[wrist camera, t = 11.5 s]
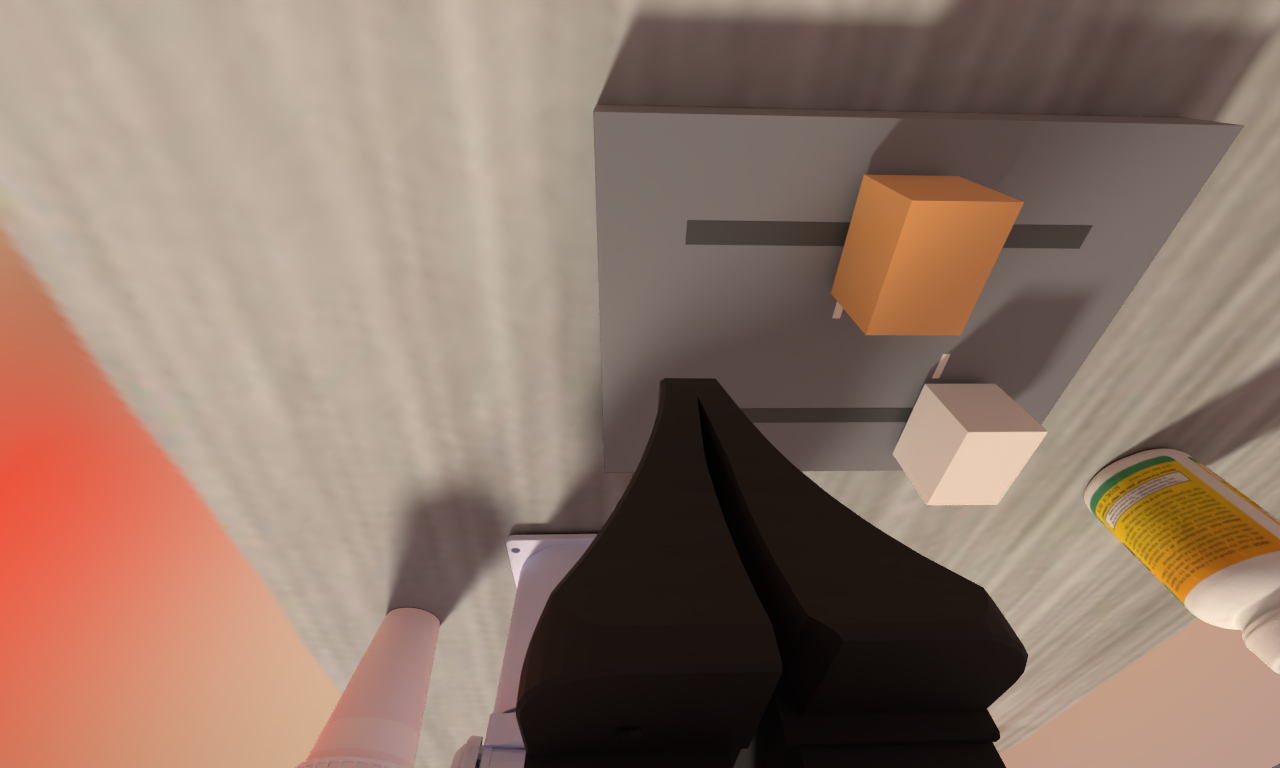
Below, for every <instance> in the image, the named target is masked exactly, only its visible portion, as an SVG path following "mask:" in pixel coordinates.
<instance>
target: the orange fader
mask: <svg viewBox="0 0 1280 768" xmlns="http://www.w3.org/2000/svg"><path fill="white" fill-rule="evenodd" d="M1023 204H1024V202H1023V201H1020V200H1018V199H1015V198H1013V197H1010V196H1007V195H1005V194H1002V193H1000V192H997V191H995V190H992V189H990V188H987V187H985V186H982V185H979V184H977V183H974V182H972V181H969V180H967V179H964V178H962V177H959V176H923V175H864V176H863V180H862V183H861V187H860V190H859V194H858V197H857V201H856V205H855V208H854V212H853V215H852V219H851V223H850V226H849V230H848V233H847V237H846V241H845V244H844V248H843V251H842V255H841V259H840V262H839V266H838V269H837V273H836V276H835V280H834V284H833V287H832V291H831V294H832V296H833V297H834V298H835V299H836V300H837V302H838V303H839V304H840V305H841V306H842V308H843V309H844V310H845V311H846V312H847V314H848V315H849V316H850V317H851V318H852V319H853V321H854V322H855V323H856V324H857V325H858V327H859V328H860V329H861V330H862V331H863V333H864V334H865V335H948V336H960V335H961V333H962V331H963V329H964V327H965V325H966V323H967V321H968V319H969V317H970V314H971V312H972V310H973V308H974V306H975V304H976V302H977V300H978V298H979V296H980V294H981V291H982V289H983V287H984V285H985V283H986V281H987V279H988V277H989V275H990V273H991V271H992V269H993V266H994V264H995V262H996V260H997V258H998V256H999V254H1000V252H1001V250H1002V248H1003V246H1004V243H1005V241H1006V239H1007V237H1008V235H1009V233H1010V231H1011V229H1012V227H1013V225H1014V223H1015V220H1016V218H1017V216H1018V214H1019V212H1020V210H1021V208H1022V206H1023Z"/></svg>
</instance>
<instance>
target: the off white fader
mask: <svg viewBox="0 0 1280 768" xmlns="http://www.w3.org/2000/svg"><path fill="white" fill-rule="evenodd" d="M1047 433H1048V431H1047V430H1046V429H1045V428H1044V427H1042V426H1041V425H1040V424H1039V423H1038V422H1037V421H1036V420H1035V419H1034V418H1033V417H1031V416H1030V415H1029V414H1028V413H1027V412H1026V411H1025V410H1024V409H1023V408H1022V407H1020V406H1019V405H1018V404H1017V403H1016V402H1015V401H1014V400H1013V399H1012V398H1011V397H1009V396H1008V395H1007V394H1006V393H1005V392H1004V391H1003V390H1002V389H1001V388H1000V387H998V386H997V385H996V384H925V385H924V387H923V389H922V391H921V393H920V395H919V398H918V400H917V402H916V404H915V406H914V408H913V411H912V413H911V415H910V417H909V419H908V422H907V424H906V426H905V428H904V430H903V432H902V435H901V437H900V439H899V441H898V443H897V445H896V448H895V450H894V452H893V455H894V457H895V458H896V460H897V461H898V463H899V464H900V466H901V467H902V469H903V470H904V472H905V473H906V475H907V477H908V478H909V480H910V481H911V483H912V484H913V486H914V487H915V489H916V490H917V492H918V493H919V495H920V496H921V498H922V499H923V501H924V502H925V504H926V505H997V504H998V503H999V501H1000V500H1001V499H1002V497H1003V496H1004V494H1005V493H1006V491H1007V490H1008V489H1009V487H1010V486H1011V484H1012V483H1013V481H1014V480H1015V479H1016V477H1017V476H1018V474H1019V473H1020V471H1021V470H1022V468H1023V467H1024V466H1025V464H1026V463H1027V461H1028V460H1029V458H1030V457H1031V456H1032V454H1033V453H1034V451H1035V450H1036V448H1037V447H1038V446H1039V444H1040V443H1041V441H1042V440H1043V438H1044V437H1045V436H1046V434H1047Z"/></svg>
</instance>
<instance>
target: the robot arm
mask: <svg viewBox="0 0 1280 768" xmlns="http://www.w3.org/2000/svg"><path fill="white" fill-rule="evenodd" d="M506 546H507V551H508V555H509V559H510V563H511V568H512V572H513V576H514V580H515V585H516V589H517V591H516V596H515V601H514V607H513V612H512V617H511V622H510V628H509V633H508V638H507V643H506V648H505V654H504V659H503V664H502V669H501V674H500V680H499V685H498V690H497V695H496V701H495V706H494V711H493V713H492V714H491V715H490V718H489V723H488V728H487V733H486V739H485V744H484V745H482V739H483V737H480V736H471V737H470V738H469V739H468V741H467V744H464V745H463V746H462V747H461V748H460V749H459V750H458V751H457V752H456V753H455V756H454V759H453V762H452V765H451V768H1006V767H1005V765H1004V763H1003V761H1002V759H1001V757H1000V755H999V754H998V752H997V750H996V748H995V746H994V744H993V742H996V741H998V740H999V739H1000V732H999V730H998V728H997V726H996V724H995V723H994V721H993V719H992V717H991V715H990V714H989V712H988V710H987V708H988V707H989V706H990V705H991V704H992V703H994V702H995V701H996V700H997V699H998V698H999V697H1000V696H1001V695H1002V694H1003V693H1004V692H1006V691H1007V690H1008V689H1009V688H1010V687H1011V686H1012V685H1013V684H1014V683H1015V682H1016V681H1017V680H1018V679H1019V677H1020V676H1021V675H1022V674H1023V673H1024V670H1025V667H1026V662H1027V658H1028V654H1027V652H1026V650H1025V648H1024V646H1023V644H1022V643H1021V641H1020V640H1019V638H1018V637H1017V635H1016V634H1015V632H1014V631H1013V629H1012V628H1011V626H1010V625H1009V623H1008V622H1007V620H1006V619H1005V617H1004V616H1003V614H1002V613H1001V611H1000V610H999V608H998V607H997V606H996V604H995V603H994V601H993V600H992V598H991V597H990V596H989V595H988V593H987V592H986V591H985V589H984V588H983V587H981V586H979V585H977V584H975V583H973V582H971V581H970V580H968V579H966V578H964V577H962V576H960V575H958V574H956V573H954V572H952V571H951V570H949V569H947V568H945V567H943V566H941V565H939V564H937V563H935V562H934V561H932V560H930V559H928V558H926V557H924V556H922V555H921V554H919V553H917V552H915V551H914V550H912V549H910V548H909V547H907V546H905V545H904V544H902V543H901V542H899V541H897V540H896V539H894V538H892V537H891V536H889V535H887V534H886V533H884V532H883V531H881V530H879V529H878V528H876V527H875V526H873V525H872V524H870V523H869V522H867V521H866V520H864V519H863V518H861V517H860V516H858V515H857V514H856V513H854V512H853V511H851V510H850V509H849V508H847V507H846V506H844V505H843V504H841V503H840V502H839V501H837V500H836V499H835V498H833V497H832V496H831V495H829V494H828V493H827V492H825V491H824V490H823V489H822V488H820V487H819V486H818V485H817V484H816V483H814V482H813V481H812V480H811V479H810V478H808V477H807V476H806V475H805V474H803V473H802V472H801V471H800V470H799V469H798V468H797V467H795V466H794V465H793V464H792V463H791V462H790V461H789V460H788V459H787V458H786V457H785V456H784V455H783V454H782V453H781V452H779V451H778V450H777V449H776V448H775V447H774V446H773V445H772V444H771V442H770V441H769V440H768V439H767V438H766V437H765V436H764V435H763V434H762V433H761V432H760V431H759V430H758V428H757V427H756V426H755V425H754V424H753V423H752V422H751V421H750V420H749V418H748V417H747V416H746V415H745V414H744V413H743V411H742V410H741V409H740V408H739V407H738V405H737V404H736V403H735V402H734V400H733V399H732V398H731V397H730V395H729V394H728V393H727V392H726V390H725V389H724V388H723V387H722V385H721V384H720V383H719V382H718V381H717V380H716V379H715V378H664V379H663V380H661V381H660V384H659V398H658V412H657V416H656V419H655V423H654V426H653V429H652V433H651V435H650V438H649V441H648V443H647V446H646V448H645V451H644V453H643V456H642V458H641V461H640V463H639V465H638V467H637V469H636V471H635V473H634V475H633V477H632V479H631V481H630V483H629V485H628V487H627V489H626V491H625V492H624V494H623V496H622V497H621V499H620V501H619V502H618V504H617V506H616V508H615V509H614V511H613V512H612V514H611V516H610V517H609V519H608V520H607V522H606V523H605V525H604V526H603V527H602V529H601V530H600V532H599V533H598V534H544V535H511V536H509V537H508V538H507V542H506ZM1272 768H1280V764H1278V765H1276V766H1274V767H1272Z"/></svg>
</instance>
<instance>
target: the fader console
mask: <svg viewBox="0 0 1280 768" xmlns="http://www.w3.org/2000/svg"><path fill="white" fill-rule="evenodd" d="M593 117H594V149H595V181H596V213H597V245H598V277H599V309H600V341H601V373H602V405H603V437H604V469H605V473H630V472H635V471H636V469H637V467H638V465H639V463H640V461H641V458H642V456H643V453H644V451H645V448H646V446H647V443H648V441H649V438H650V435H651V433H652V429H653V426H654V423H655V419H656V416H657V412H658V398H659V384H660V381H661V380H663V379H664V378H715V379H716V380H717V381H718V382H719V383H720V384H721V385H722V387H723V388H724V389H725V390H726V392H727V393H728V394H729V395H730V397H731V398H732V399H733V400H734V402H735V403H736V404H737V405H738V407H739V408H740V409H741V410H742V411H743V413H744V414H745V415H746V416H747V417H748V418H749V420H750V421H751V422H752V423H753V424H754V425H755V426H756V427H757V428H758V430H759V431H760V432H761V433H762V434H763V435H764V436H765V437H766V438H767V439H768V440H769V441H770V442H771V444H772V445H773V446H774V447H775V448H776V449H777V450H778V451H779V452H781V453H782V454H783V455H784V456H785V457H786V458H787V459H788V460H789V461H790V462H791V463H792V464H793V465H794V466H795V467H797V468H798V469H799V470H800V471H876V470H903V469H902V467H901V466H900V464H899V463H898V461H897V460H896V458H895V457H894V455H893V452H894V450H895V448H896V445H897V443H898V441H899V439H900V437H901V435H902V432H903V430H904V428H905V426H906V424H907V422H908V419H909V417H910V415H911V413H912V411H913V408H914V406H915V404H916V402H917V400H918V398H919V395H920V393H921V391H922V389H923V387H924V385H925V384H996V385H997V386H998V387H1000V388H1001V389H1002V390H1003V391H1004V392H1005V393H1006V394H1007V395H1008V396H1009V397H1011V398H1012V399H1013V400H1014V401H1015V402H1016V403H1017V404H1018V405H1019V406H1020V407H1022V408H1023V409H1024V410H1025V411H1026V412H1027V413H1028V414H1029V415H1030V416H1031V417H1033V418H1034V419H1035V420H1036V421H1037V422H1038V423H1039V424H1040V425H1041V424H1042V423H1043V421H1044V420H1045V418H1046V417H1047V415H1048V414H1049V412H1050V411H1051V409H1052V408H1053V407H1054V405H1055V404H1056V402H1057V401H1058V399H1059V398H1060V396H1061V395H1062V393H1063V392H1064V390H1065V389H1066V387H1067V386H1068V384H1069V383H1070V381H1071V380H1072V379H1073V377H1074V376H1075V374H1076V373H1077V371H1078V370H1079V368H1080V367H1081V365H1082V364H1083V362H1084V361H1085V359H1086V358H1087V356H1088V355H1089V353H1090V352H1091V351H1092V349H1093V348H1094V346H1095V345H1096V343H1097V342H1098V340H1099V339H1100V337H1101V336H1102V334H1103V333H1104V331H1105V330H1106V328H1107V327H1108V326H1109V324H1110V323H1111V321H1112V320H1113V318H1114V317H1115V315H1116V314H1117V312H1118V311H1119V309H1120V308H1121V306H1122V305H1123V303H1124V302H1125V300H1126V299H1127V298H1128V296H1129V295H1130V293H1131V292H1132V290H1133V289H1134V287H1135V286H1136V284H1137V283H1138V281H1139V280H1140V278H1141V277H1142V275H1143V274H1144V272H1145V271H1146V270H1147V268H1148V267H1149V265H1150V264H1151V262H1152V261H1153V259H1154V258H1155V256H1156V255H1157V253H1158V252H1159V250H1160V249H1161V247H1162V246H1163V244H1164V243H1165V242H1166V240H1167V239H1168V237H1169V236H1170V234H1171V233H1172V231H1173V230H1174V228H1175V227H1176V225H1177V224H1178V222H1179V221H1180V219H1181V218H1182V216H1183V215H1184V214H1185V212H1186V211H1187V209H1188V208H1189V206H1190V205H1191V203H1192V202H1193V200H1194V199H1195V197H1196V196H1197V194H1198V193H1199V191H1200V190H1201V188H1202V187H1203V186H1204V184H1205V183H1206V181H1207V180H1208V178H1209V177H1210V175H1211V174H1212V172H1213V171H1214V169H1215V168H1216V166H1217V165H1218V163H1219V162H1220V160H1221V159H1222V158H1223V156H1224V155H1225V153H1226V152H1227V150H1228V149H1229V147H1230V146H1231V144H1232V143H1233V141H1234V140H1235V138H1236V137H1237V135H1238V134H1239V133H1240V131H1241V130H1242V128H1243V127H1244V126H1243V125H1236V124H1228V123H1220V122H1213V121H1205V120H1197V119H1190V118H1182V117H1139V116H1093V115H1047V114H1001V113H955V112H909V111H863V110H817V109H772V108H726V107H680V106H634V105H596V107H595V109H594V111H593ZM864 175H923V176H959V177H962V178H964V179H967V180H969V181H972V182H974V183H977V184H979V185H982V186H985V187H987V188H990V189H992V190H995V191H997V192H1000V193H1002V194H1005V195H1007V196H1010V197H1013V198H1015V199H1018V200H1020V201H1023V202H1024V204H1023V206H1022V208H1021V210H1020V212H1019V214H1018V216H1017V218H1016V220H1015V223H1014V225H1013V227H1012V229H1011V231H1010V233H1009V235H1008V237H1007V239H1006V241H1005V243H1004V246H1003V248H1002V250H1001V252H1000V254H999V256H998V258H997V260H996V262H995V264H994V266H993V269H992V271H991V273H990V275H989V277H988V279H987V281H986V283H985V285H984V287H983V289H982V291H981V294H980V296H979V298H978V300H977V302H976V304H975V306H974V308H973V310H972V312H971V314H970V317H969V319H968V321H967V323H966V325H965V327H964V329H963V331H962V333H961V335H960V336H948V335H865V334H864V333H863V331H862V330H861V329H860V328H859V327H858V325H857V324H856V323H855V322H854V321H853V319H852V318H851V317H850V316H849V315H848V314H847V312H846V311H845V310H844V309H843V308H842V306H841V305H840V304H839V303H838V302H837V300H836V299H835V298H834V297H833V296H832V294H831V291H832V287H833V284H834V280H835V276H836V273H837V269H838V266H839V262H840V259H841V255H842V251H843V248H844V244H845V241H846V237H847V233H848V230H849V226H850V223H851V219H852V215H853V212H854V208H855V205H856V201H857V197H858V194H859V190H860V187H861V183H862V180H863V176H864Z"/></svg>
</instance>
